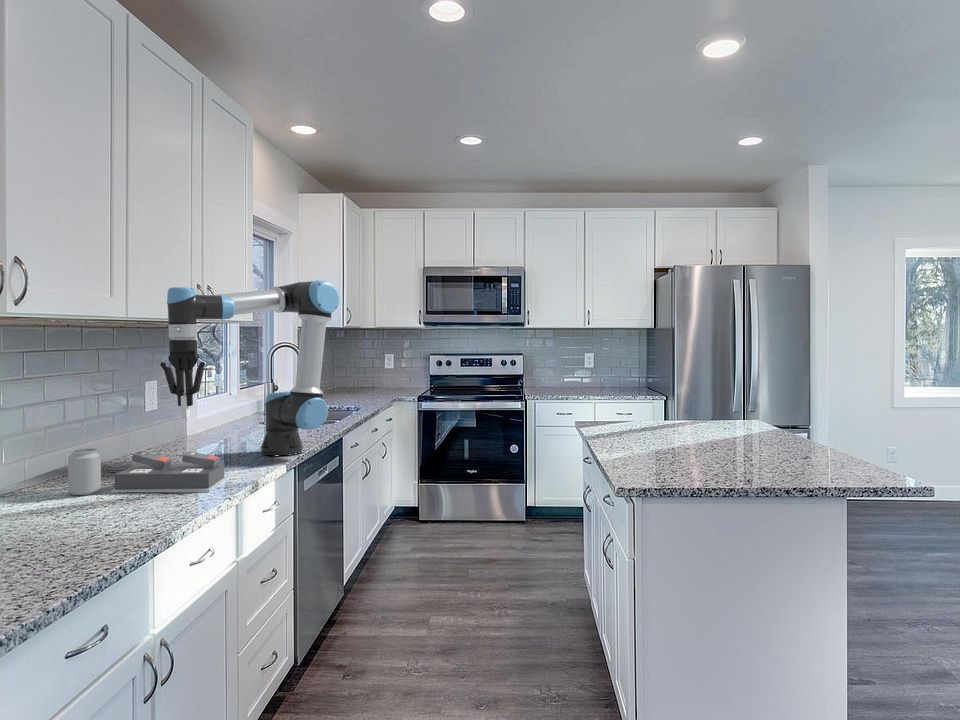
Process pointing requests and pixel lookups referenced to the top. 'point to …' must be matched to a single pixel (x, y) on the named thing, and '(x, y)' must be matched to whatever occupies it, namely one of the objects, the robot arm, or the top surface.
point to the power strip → (169, 478)
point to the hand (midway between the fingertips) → (185, 416)
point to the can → (84, 472)
